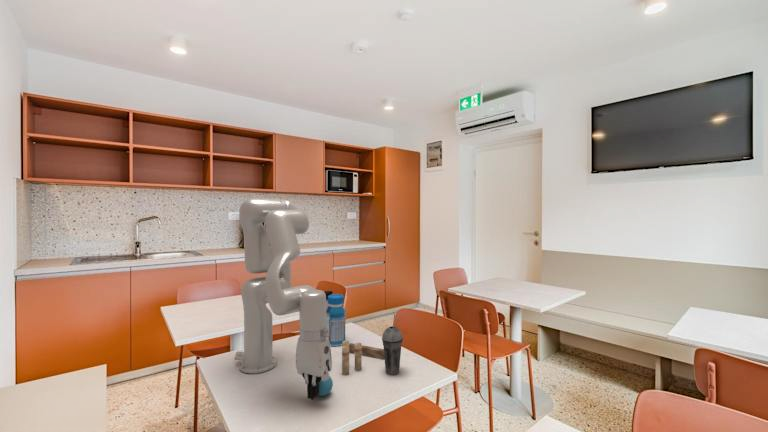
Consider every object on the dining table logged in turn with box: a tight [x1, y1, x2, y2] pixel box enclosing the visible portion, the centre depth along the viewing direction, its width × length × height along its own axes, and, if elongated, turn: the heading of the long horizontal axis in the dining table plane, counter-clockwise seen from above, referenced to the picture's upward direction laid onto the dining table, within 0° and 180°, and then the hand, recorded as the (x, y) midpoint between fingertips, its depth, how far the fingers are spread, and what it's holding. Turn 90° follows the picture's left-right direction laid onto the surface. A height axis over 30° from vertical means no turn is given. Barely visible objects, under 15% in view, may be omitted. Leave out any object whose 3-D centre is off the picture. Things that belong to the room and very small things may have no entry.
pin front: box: [341, 346, 350, 376], centre depth 114 cm, size 2×2×9 cm
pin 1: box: [341, 340, 350, 348], centre depth 119 cm, size 2×2×9 cm
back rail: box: [349, 342, 385, 361], centre depth 129 cm, size 16×2×3 cm, turn 66°
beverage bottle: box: [326, 293, 347, 347], centre depth 141 cm, size 8×8×20 cm
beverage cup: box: [381, 313, 404, 376], centre depth 115 cm, size 7×7×20 cm
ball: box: [318, 375, 334, 397], centre depth 101 cm, size 6×6×6 cm
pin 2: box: [354, 342, 363, 372], centre depth 117 cm, size 2×2×9 cm
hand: (313, 396), depth 97 cm, fingers closed
